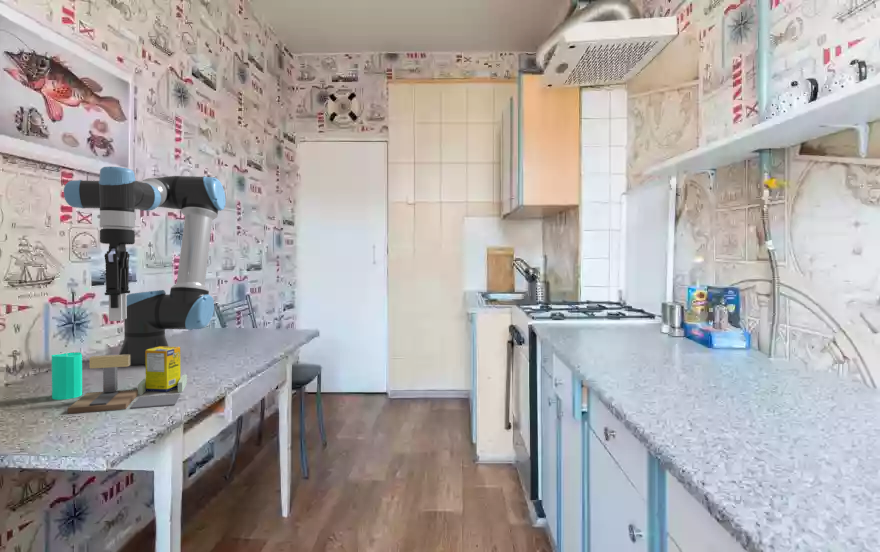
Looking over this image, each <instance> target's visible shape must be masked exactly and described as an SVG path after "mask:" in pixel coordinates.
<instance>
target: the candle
mask: <svg viewBox="0 0 880 552" xmlns="http://www.w3.org/2000/svg"><path fill="white" fill-rule="evenodd" d="M82 396H83V354H82V352H79V351H78V352H66V353H58V354H51V399H52V400H55V401H56V400H57V401H59V400H60V401H61V400H71V399H77V398H79V397H82Z"/></svg>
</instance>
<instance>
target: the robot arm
mask: <svg viewBox="0 0 880 552" xmlns="http://www.w3.org/2000/svg"><path fill="white" fill-rule="evenodd" d="M63 196H64V200H65V202H66V203H67V205H69V206H70V207H72V208H76V209H77V208H78V209H99V214H98V215H96V216H97V219H99V226H100V227H101V228H100V229H99V242H100V244H103V245H108V250H107V251H106V253H104V263H105V292H104V296H108V322H122V321H123V322H124V323H123V326H124V327H123V328H124V329H123V330H124V331H123V332H124V336H123V337H124V339H123V341H122V344H121V347H120V350H119V352H118V355H126V354H130V365H129V366H133V365H134V366H135V365H137V366H138V365H146V361H145V351H146V350H147V349H151V348H155V347H159V346H165V347H170V346H169V343H168V341H167V337H166V330H188V331H194V330H202V329H204V328H206V327H207V326H208V324H210V322H211V320H212V318H213V314H214V311H215V304H214V302H215V300H214V297H213V296H212V295H210V290H209V289H208V288H207V287H206V286H205V285H206V278H207V277H206V276H207V270H208V269H207V268H208V261H209V260H208V259H209V251H210V242H211V235H212V226H213V220H215V219H216V218H218V214H219V212H220V211H223V210H224V209H225V208H226V204H227V203H226V202H227V201H226V191H225V189H224V187H223V183H222V182H221V181H220V180H219V179H218V178H217V177H214V176H213V177H211V176H190V175H189V176H187V175H186V176H185V175H183V176H182V175H170V176H169V175H168V176H161V177H152V178H151V177H149V178H144V179H143V180H136V177H135V172H134V170H133V169H130V168H126V167H121V166H103V167H102V168H101V169H100V170H99V178H98V180H83V179H78V180H76V179H75V180H69V181H68V182H66V184H65V185H64V187H63ZM156 208H166V209H173V210H180V213H181V214H182V215H183V216H184V221H183V223H184V224H183V228H182V229H183V231H182V236H181V237H182V239H181V246H180V253H179V254H180V255H179V262H178V270H177V275H176V276H177V277H176V278H177V279H176V283H175V284H174V285H173V286H171V287H170V291H169V294H166V291H165V290H164V289H160V290H152V291H143V292H141V291H140V292H134V293H131V290H129V289H130V287H129V279H130V277H129V276H130V275H129V274H130V273H129V272H130V271H129V265H130V264H129V263H130V253H129V251H127V247H126V245H134V244H135V242H136V240H135V239H136V237H135V236H136V232H135V230H134V228H136V211H135V210H139V211H141V212H143V211H146V212H147V211H153V210H155V209H156Z"/></svg>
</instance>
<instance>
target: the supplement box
mask: <svg viewBox="0 0 880 552" xmlns="http://www.w3.org/2000/svg"><path fill="white" fill-rule="evenodd" d="M145 361H146V364H145V377H146V391H145V392H159V393H168V392H170V391H173V390H175V389H178V382H179V380H180V379H181V377H182V375H181V373H182V372H181V366H182V365H181V347H180V346H169V347H165V346H159V347H155V348H151V349H147V350H146V351H145Z"/></svg>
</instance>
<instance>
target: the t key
mask: <svg viewBox="0 0 880 552" xmlns="http://www.w3.org/2000/svg"><path fill="white" fill-rule="evenodd" d="M129 366H131V365H130V354H126V355H119V354H111V355H110V354H105V355H91V356H89V369H102V373H103V374H102V378H103V379H102V380H103V381H102V382H103V383H102V385H103V386H102V392H115V391H118V386H119V385H118V368H125V367H129Z"/></svg>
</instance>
